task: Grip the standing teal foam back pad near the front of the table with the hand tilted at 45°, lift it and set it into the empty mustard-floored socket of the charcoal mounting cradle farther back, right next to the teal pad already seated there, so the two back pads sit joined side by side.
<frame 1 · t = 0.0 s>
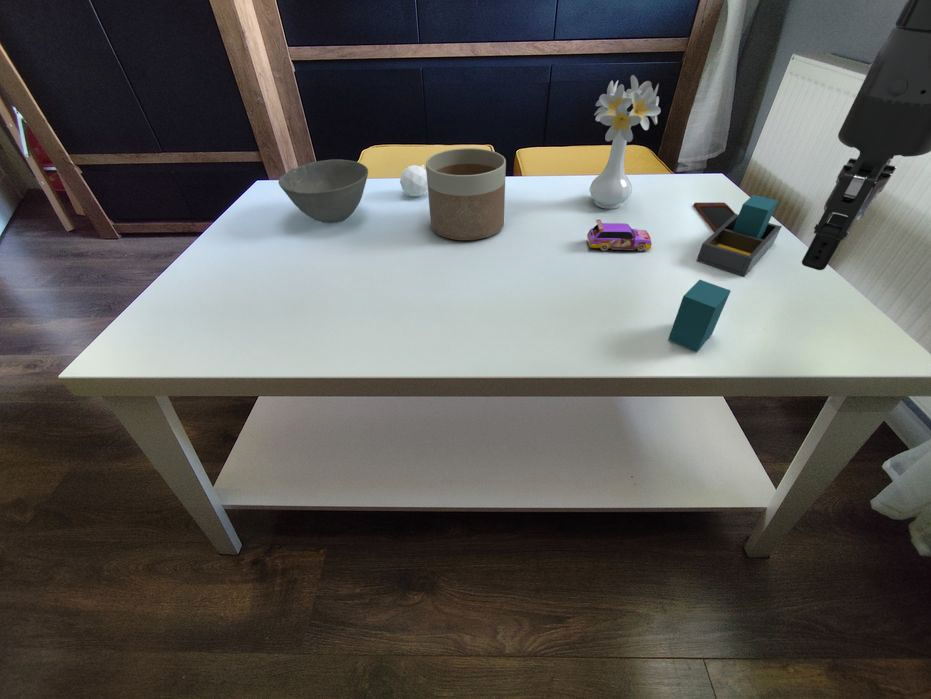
hand: (822, 251, 51), 18 cm above the table, tool pointing down, fingers open, 8 cm apart
toy car: (617, 246, 90), on the table
flower vase: (609, 205, 105), on the table
pad a: (744, 241, 89), point 1 cm above the table, touching cradle
ornament: (416, 196, 112), on the table
bowl: (333, 219, 103), on the table
planter: (467, 226, 99), on the table
pad b: (690, 337, 68), on the table
smartphone: (720, 221, 98), on the table
cradle: (736, 251, 87), on the table
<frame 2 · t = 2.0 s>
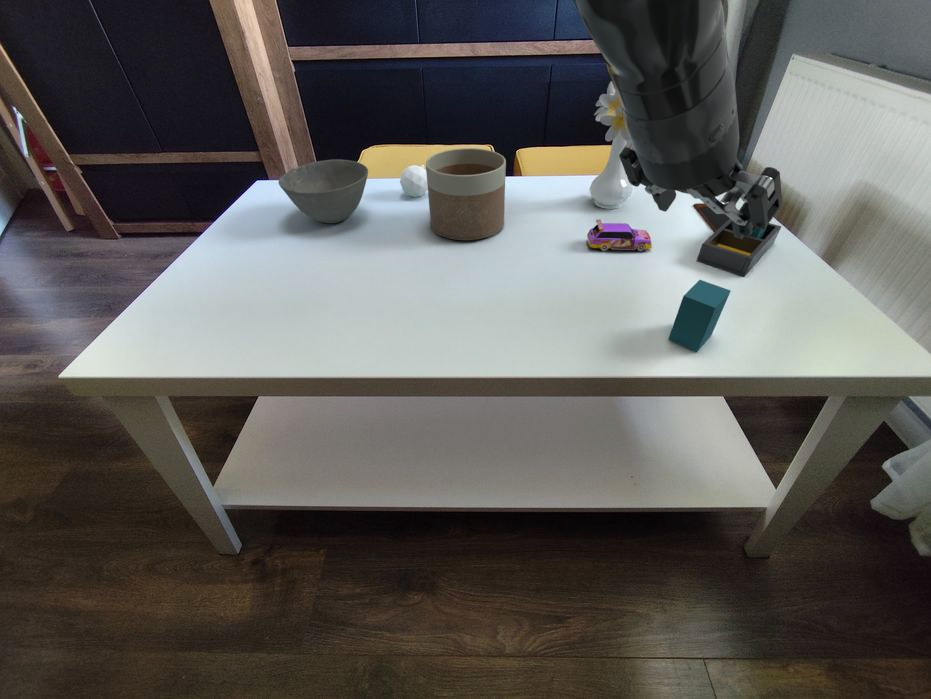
hand: (704, 216, 48), 23 cm above the table, tool tilted 45°, fingers open, 8 cm apart
nothing on the table moved.
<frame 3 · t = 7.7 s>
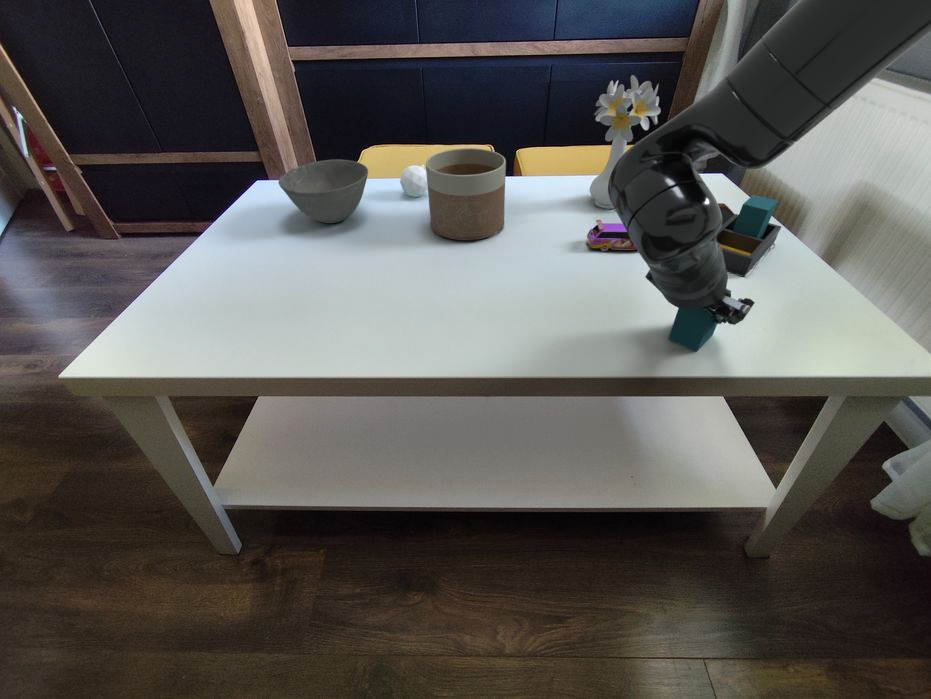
hand: (704, 309, 67), 4 cm above the table, tool tilted 45°, fingers closed on pad b, 4 cm apart
pad b: (690, 337, 68), on the table, touching gripper
everything else where it was.
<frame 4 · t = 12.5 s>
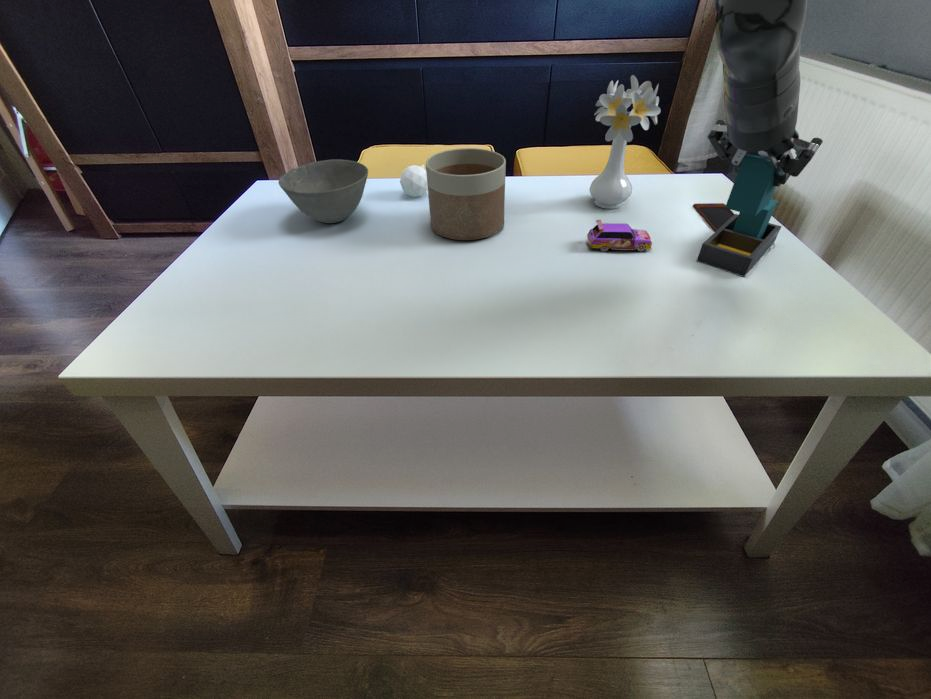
hand: (761, 176, 68), 18 cm above the table, tool tilted 45°, fingers closed on pad b, 4 cm apart
pad b: (746, 206, 70), point 14 cm above the table, touching gripper
everything else where it was.
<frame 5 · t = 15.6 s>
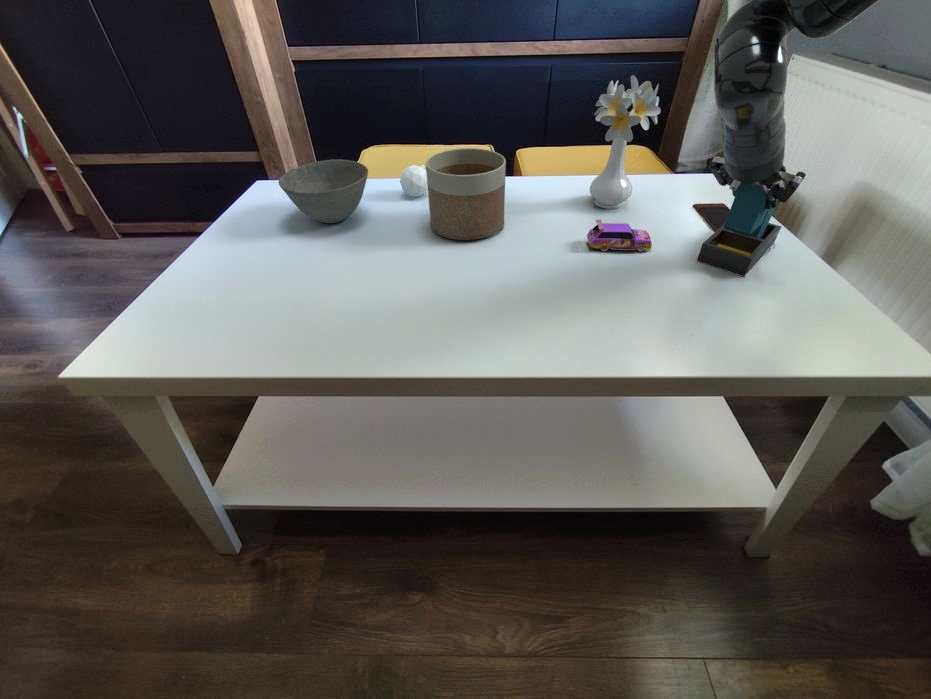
hand: (756, 199, 79), 11 cm above the table, tool tilted 45°, fingers closed on pad b, 4 cm apart
pad b: (742, 225, 80), point 7 cm above the table, touching gripper
everything else where it was.
when the fingers open (5 cm above the table, at t = 17.7 s): pad b stays where it is, resting on cradle.
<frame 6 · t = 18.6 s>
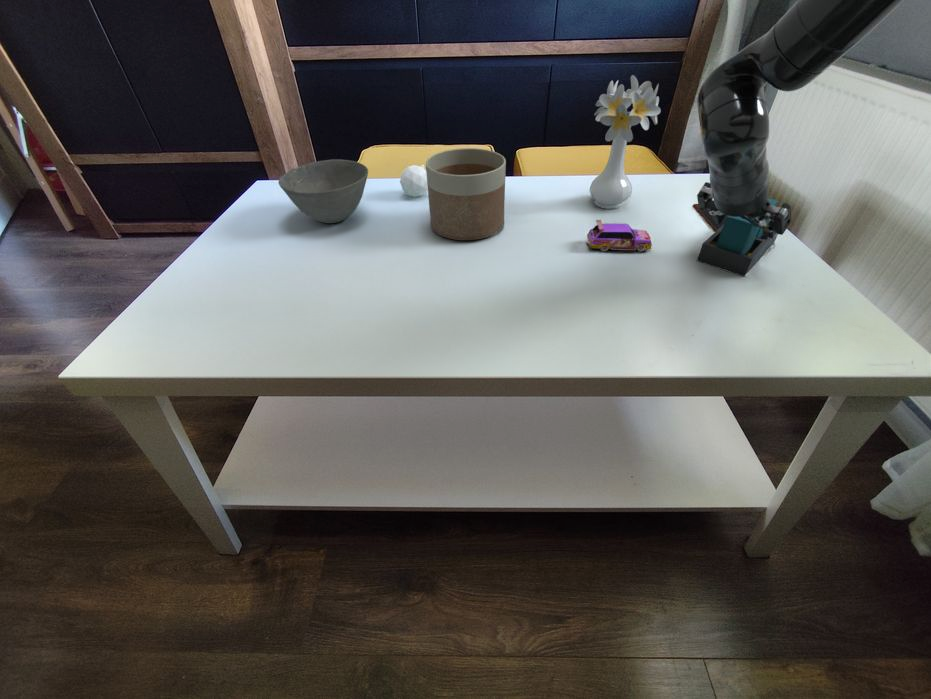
hand: (744, 226, 82), 6 cm above the table, tool tilted 45°, fingers open, 8 cm apart
pad b: (730, 255, 85), point 1 cm above the table, touching cradle
everything else where it was.
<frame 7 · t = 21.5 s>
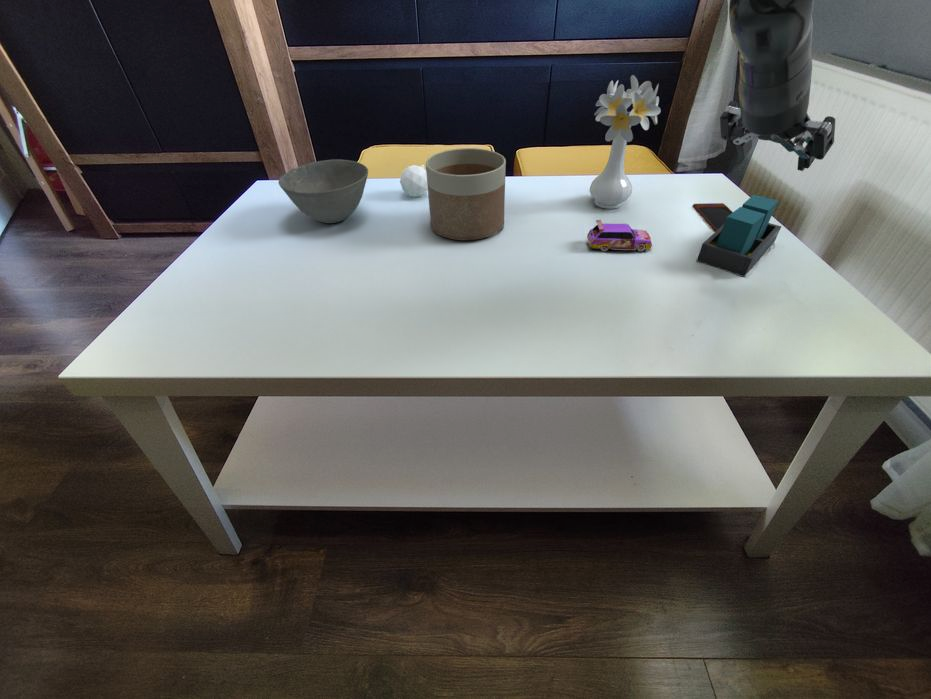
hand: (773, 158, 70), 19 cm above the table, tool tilted 45°, fingers open, 8 cm apart
nothing on the table moved.
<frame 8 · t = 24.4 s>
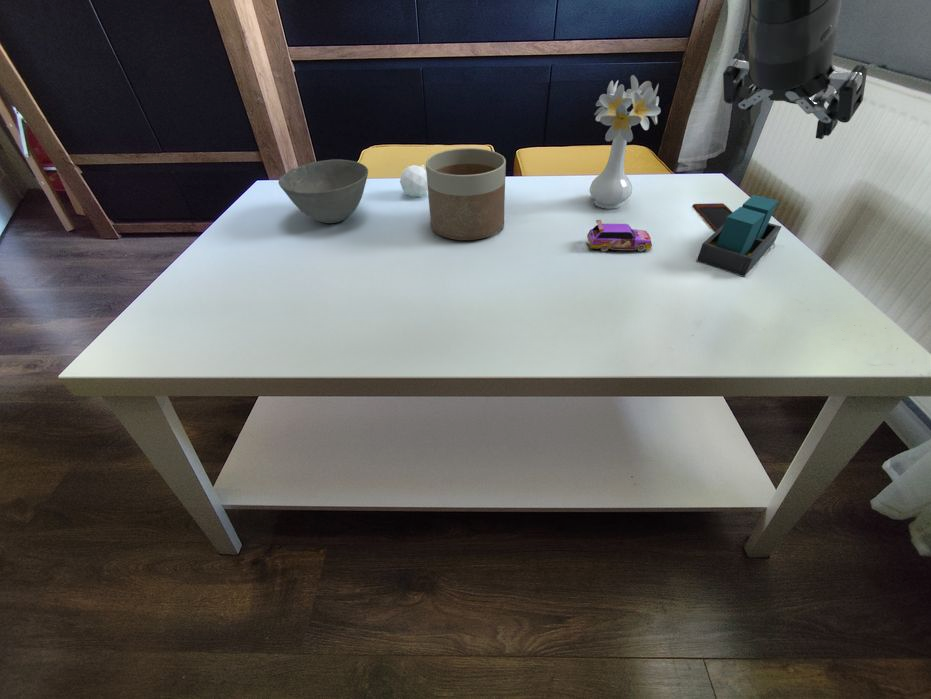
hand: (786, 125, 59), 27 cm above the table, tool tilted 45°, fingers open, 8 cm apart
nothing on the table moved.
at the end: pad b 0.0 cm from the target spot in the cradle, point 0.8 cm above the cradle's base; pad b tilted 0°; pad a moved 0.0 cm from its start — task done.
